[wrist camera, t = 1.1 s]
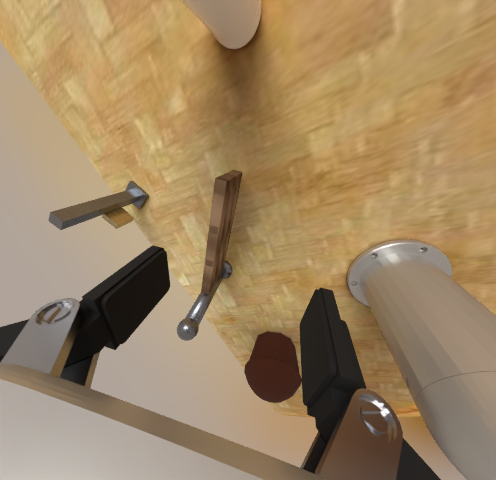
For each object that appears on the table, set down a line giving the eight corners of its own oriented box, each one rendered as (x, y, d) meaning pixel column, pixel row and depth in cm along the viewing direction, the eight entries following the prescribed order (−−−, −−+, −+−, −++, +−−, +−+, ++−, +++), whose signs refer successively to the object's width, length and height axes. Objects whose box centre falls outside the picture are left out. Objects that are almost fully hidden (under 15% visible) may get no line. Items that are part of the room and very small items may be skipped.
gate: (223, 267, 31) (208, 294, 26) (217, 265, 32) (201, 292, 26) (242, 172, 23) (226, 181, 17) (233, 170, 23) (215, 178, 18)
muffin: (267, 319, 38) (260, 371, 29) (311, 344, 38) (316, 402, 30) (242, 343, 44) (230, 392, 35) (280, 364, 44) (278, 417, 36)
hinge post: (236, 269, 33) (204, 342, 21) (223, 279, 35) (187, 352, 23) (220, 255, 32) (177, 322, 20) (208, 266, 34) (162, 334, 22)
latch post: (155, 200, 30) (83, 231, 19) (147, 213, 31) (76, 247, 21) (132, 180, 29) (44, 201, 19) (125, 194, 30) (40, 220, 20)
